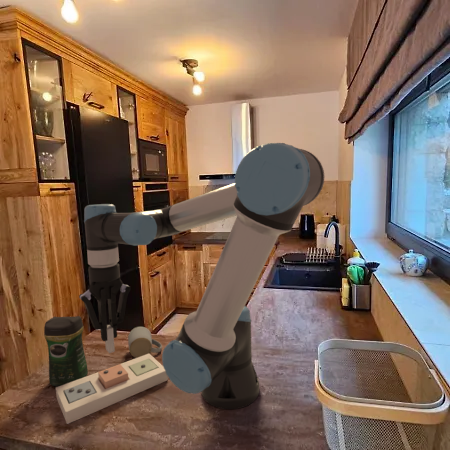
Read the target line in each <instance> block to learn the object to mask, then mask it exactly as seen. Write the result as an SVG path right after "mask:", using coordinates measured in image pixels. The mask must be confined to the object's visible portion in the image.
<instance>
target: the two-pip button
mask: <svg viewBox="0 0 450 450" xmlns="http://www.w3.org/2000/svg"><path fill="white" fill-rule="evenodd" d="M121 364H122V363H119V364H116V365H114V366H111V367H108V368H106V369H103V370H100V371H98V376H99V381H100V383H101V384H102V386H103V387H104V389H107V388H110V387H112V386H114V385H117V384H119V383H122V382H124V381H127V380H128V373H127V371H126V370H125V369H124V368H123V367H122V366H121Z"/></svg>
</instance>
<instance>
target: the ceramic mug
mask: <svg viewBox="0 0 450 450" xmlns="http://www.w3.org/2000/svg"><path fill="white" fill-rule="evenodd" d="M127 341H128V350H129V351H128V352H129V353H130V355H131V356H132V357H133V358H134V359H135V358H138V357H141V356H143V355H146V354H151V353H153V354H154V353H156V354H157V353H160V352H162V348H163V345H162V343H161V342H160V341H158V340H156V339H153V338H152V333H151V331H150V330H149V328H147V327H144V326H136V327H134V328H133V329H131V331H130V332H129V334H128V335H127ZM153 345H154V346H156V347H157V348H156V347H153Z"/></svg>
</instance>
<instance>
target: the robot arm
mask: <svg viewBox="0 0 450 450" xmlns="http://www.w3.org/2000/svg"><path fill="white" fill-rule="evenodd" d="M324 184H325V170H324V168H323V165H322V162H321V161H320V160H319V159H318V157H317V156H316V155H315V154H314V153H312V152H310V151H308V150H305V149H303V148H298V147H296V146H293V145H291V144H287V143H284V142H274V143H273V142H271V143H270V142H269V143H263V144H260V145H258V146H255V147H254V148H252V149H251V150H249V151H248V153H246V154H245V155H244V156H243V158H241V160H240V162H239V165H238V166H237V167H236V171H235V175H234V183H231V184H229V185H225V186H222V187H219V188H217V189H214V190H211V191H209V192H205V193H203V194H200V195H197V196H195V197H192V198H189V199H186V200H183V201H181V202H177V203H175V204H171V205H169V206H166V207H164V208H160V209H154V210H153V209H152V210H145V211H136V212H135V211H134V212H117V210H116V205H114V204H112V203H111V204H110V203H101V204H89V205H86V206H85V207H84V215H83V216H84V220H83V222H84V230H85V231H84V232H85V243H86V251H87V252H86V253H87V264H88V265H89V266H88V281H89V283H88V285H87V290H86V291H85V292H84V293H80V294H79V295H78V298H79V299H80V300H81V301H82V302H83V304H84V306H85V308H86V309H85V310H86V311H87V315H88V318H89V320H90V322H91V325H92V327H93V328H94V329H95V331H99V330H100V339H101V340H102V341H103V342H105V344H104V345H105V350H106V352H107V353H108V354H112V353H114V352H115V339H116V338H117V337H118V326H119V324H120V323H121V324H122V323H123V322H124V321H125V320H124V319H125V314H126V308H127V303H128V297H129V293H130V291H131V290H132V287H131V286H129V285H128V284H124V283H123V281H122V280H121V270H120V269H121V267H120V264H119V263H118V262H119V261H120V258H119V257H120V256H119V244H123V245H130V246H135V247H137V246H146V245H150V244H151V243H152V242H153V241H154V240H156V239H161V238H165V237H171V236H175V235H178V234H180V233H182V232H186V231H189V230H191V229H195V228H198V227H203V226H206V225H209V224H213V223H216V222H221V221H224V220H226V219H230V218H234V217H235V220H234V223H233V225H232V227H231V229H230V232H229V234H228V236H227V239H226V241H225V244H224V246H223V249H222V251H221V253H220V255H219V258H218V260H217V263H216V264H215V267H214V269H213V272H212V274H211V277H210V279H209V281H208V284H207V286H206V288H205V290H204V293H203V295H202V297H201V299H200V302H199V304H198V307H197V309H196V310H195V311H193V312H190V313H188V315H186V317H185V319H184V322H183V324H182V326H181V329H180V331H179V333H178V335H177V337H175V338H174V340H173V339H172V340H171V341H169V342H168V344H167V345H165V347H164V349H163V351H162V354H161V355H162V356H161V360H162V366H163V367H164V369H165V371H166V374H167V376H168V380H170V382H171V383H172V384H173V385H174V386H175V387H176V388H177V389H179V390H180V391H182V392H184V393H186V394H193V395H197V394H199V393H201V395H202V398H203V399H204V401H205V402H206V403H208V404H209V405H211V406H212V407H215V408H219V409H221V410H222V409H223V410H224V409H225V410H235V409H241V408H244V407H246V406H249V405H250V404H252V403H254V402H255V400H257V398H258V396H259V394H260V379H259V377H258V375H257V371H256V370H255V366H254V364H253V359H252V355H253V354H252V319H251V312H250V309H249V308H248V307H247V306H246V304H247V302H248V300H249V297H250V295H251V294H252V291H254V287H255V286H256V284H257V281H258V279H259V278H260V275H261V273H262V271H263V269H264V268H265V267H264V266H265V265H266V263H267V261H268V259H269V257H270V255H271V252H272V251H273V249H274V246H275V244H276V242H277V241H278V238H279V236H280V235H282V234H285V233H289V232H291V231H292V228H293V227H294V225H295V223H296V221H297V219H298V217H299V215H300V213H301V211H302V209H303V207H304V206H307V205H309V204H311V203H312V202H313V201H314V200H316V199H317V197H319V195H320V193H321V192H322V189H323V188H324ZM119 291H120V293H119ZM118 294H119V299H118V303H117V305H116V302H117V298H116V296H117V295H118ZM91 295H92V296H93V297H94V298H95V299H96V301H97V308H98V318H97V315H96V312H95V309H94V306H93V303H92V302H91V299H92V297H91ZM107 304H108V306H107ZM106 306H107V307H108V320H109V324H108V323H107V322H108V320H107V307H106Z"/></svg>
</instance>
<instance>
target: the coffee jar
mask: <svg viewBox="0 0 450 450" xmlns="http://www.w3.org/2000/svg"><path fill="white" fill-rule="evenodd" d="M82 319H83V318H82V317H81V316H80V315H75V316H53V317H51V318H49V319H48V320H47V321H45V323H44V327H43V328H44V329H43V331H44V332H43V337H44V338H45V341H46V344H47V345H46V346H47V350H48V351H47V352H48V380H49V381H48V382H49V384H50V385H51V386H53V387H59V386H62V385H64V384H67V383H70V382H73V381H75V380H78V379H81V378H83V377H86V376H88V373H89V369H88V363H87V359H86V355H85V349H84V344H83V332H84V324H83V320H82Z"/></svg>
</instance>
